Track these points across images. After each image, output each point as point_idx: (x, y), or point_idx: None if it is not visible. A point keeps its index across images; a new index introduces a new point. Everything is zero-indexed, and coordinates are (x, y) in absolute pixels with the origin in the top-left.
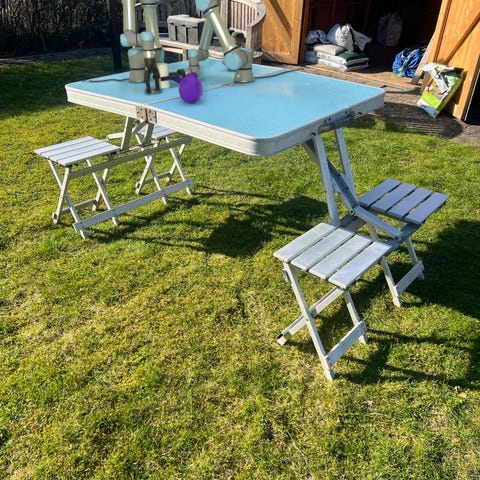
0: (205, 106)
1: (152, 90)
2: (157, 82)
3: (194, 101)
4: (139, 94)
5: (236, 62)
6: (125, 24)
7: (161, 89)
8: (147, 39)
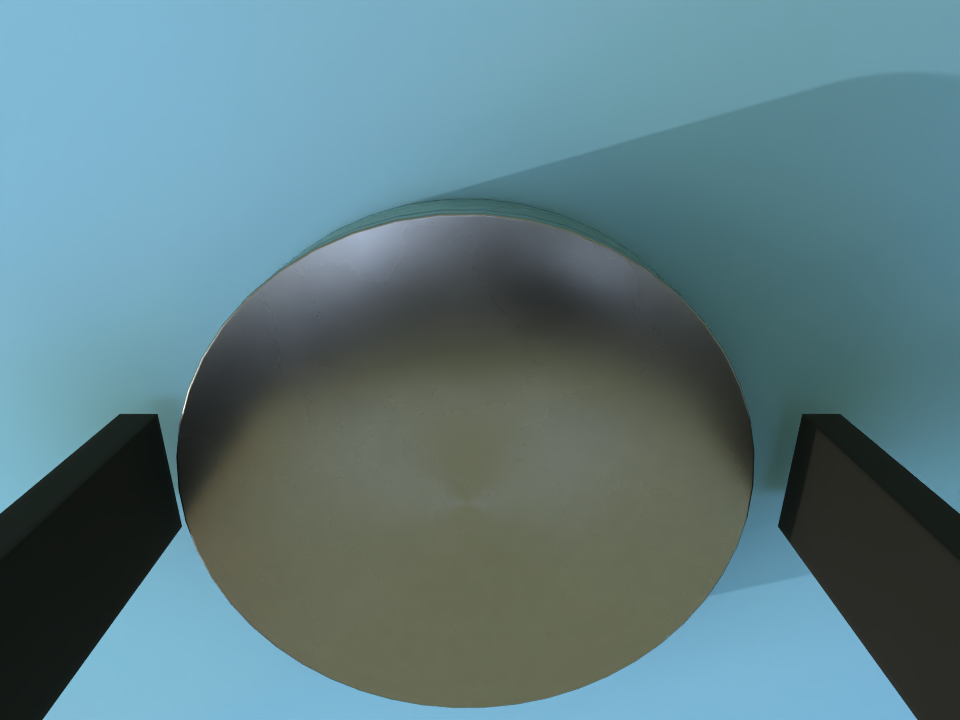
0: None
1: (325, 537)
2: (916, 661)
3: None
4: (55, 126)
5: None
6: None
7: (553, 692)
8: None
